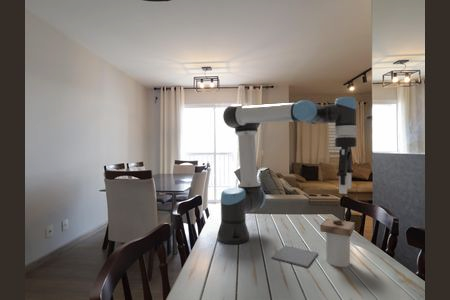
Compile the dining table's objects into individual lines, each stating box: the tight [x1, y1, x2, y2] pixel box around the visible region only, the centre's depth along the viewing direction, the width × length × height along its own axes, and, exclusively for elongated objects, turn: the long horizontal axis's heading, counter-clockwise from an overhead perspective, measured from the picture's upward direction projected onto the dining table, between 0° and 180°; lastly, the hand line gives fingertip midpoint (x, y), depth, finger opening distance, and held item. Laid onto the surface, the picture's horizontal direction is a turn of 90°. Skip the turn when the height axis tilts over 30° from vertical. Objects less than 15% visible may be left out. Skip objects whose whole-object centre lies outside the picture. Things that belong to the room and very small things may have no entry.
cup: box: [325, 232, 351, 268], centre depth 96 cm, size 8×8×12 cm
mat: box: [271, 245, 319, 269], centre depth 101 cm, size 14×14×1 cm
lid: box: [319, 218, 355, 238], centre depth 95 cm, size 10×10×4 cm
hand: (345, 190), depth 100 cm, fingers open, 13 cm apart
